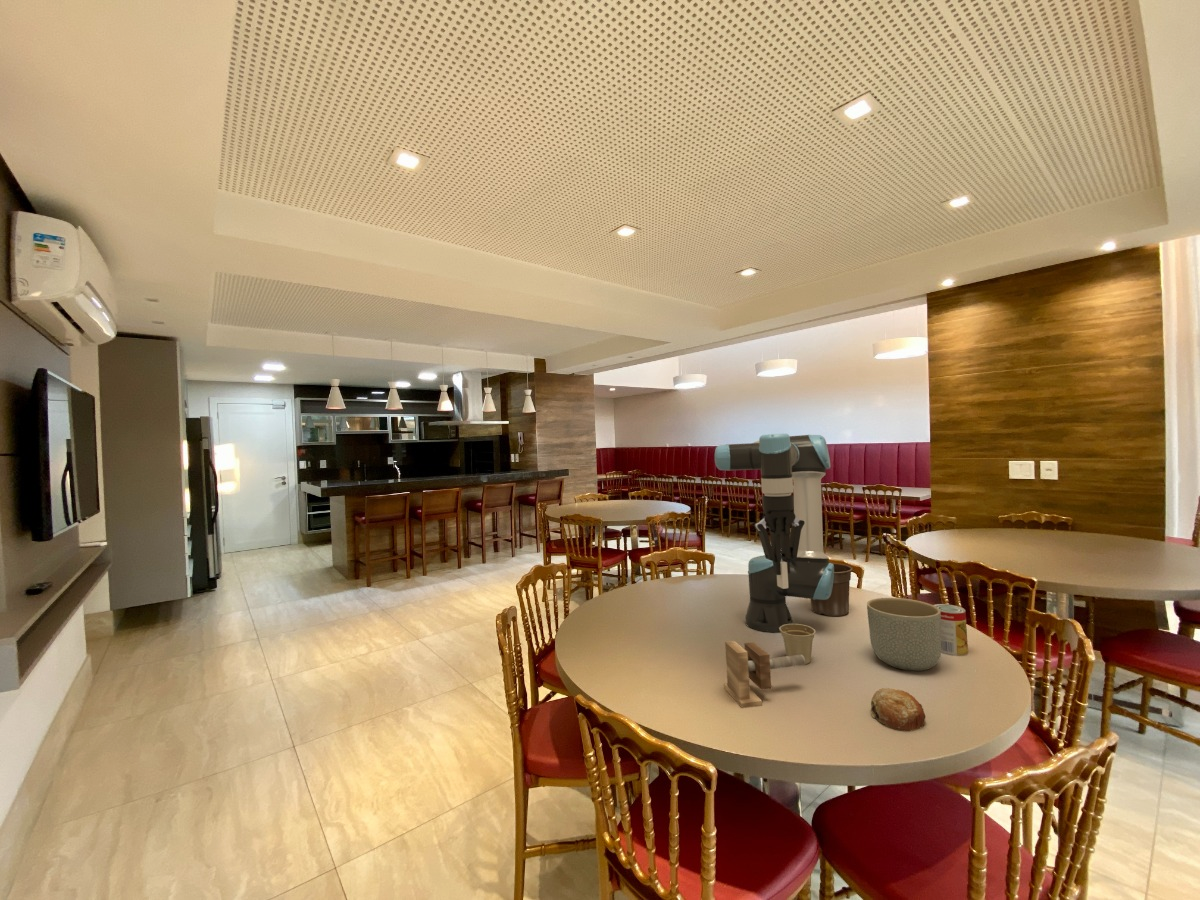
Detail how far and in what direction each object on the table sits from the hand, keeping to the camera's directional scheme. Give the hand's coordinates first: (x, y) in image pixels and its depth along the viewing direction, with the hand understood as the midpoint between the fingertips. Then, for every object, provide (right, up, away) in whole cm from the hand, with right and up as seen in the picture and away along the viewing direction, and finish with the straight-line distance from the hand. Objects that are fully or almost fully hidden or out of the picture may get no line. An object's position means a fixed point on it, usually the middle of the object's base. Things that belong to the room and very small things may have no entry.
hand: (782, 586), depth 122 cm
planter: (+37, -23, +8) cm, 44 cm away
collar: (-8, -22, -5) cm, 24 cm away
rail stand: (-5, -25, -4) cm, 26 cm away
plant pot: (+37, -24, +52) cm, 68 cm away
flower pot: (+10, -25, +13) cm, 30 cm away
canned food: (+54, -23, +15) cm, 60 cm away
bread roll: (+18, -24, -18) cm, 35 cm away
